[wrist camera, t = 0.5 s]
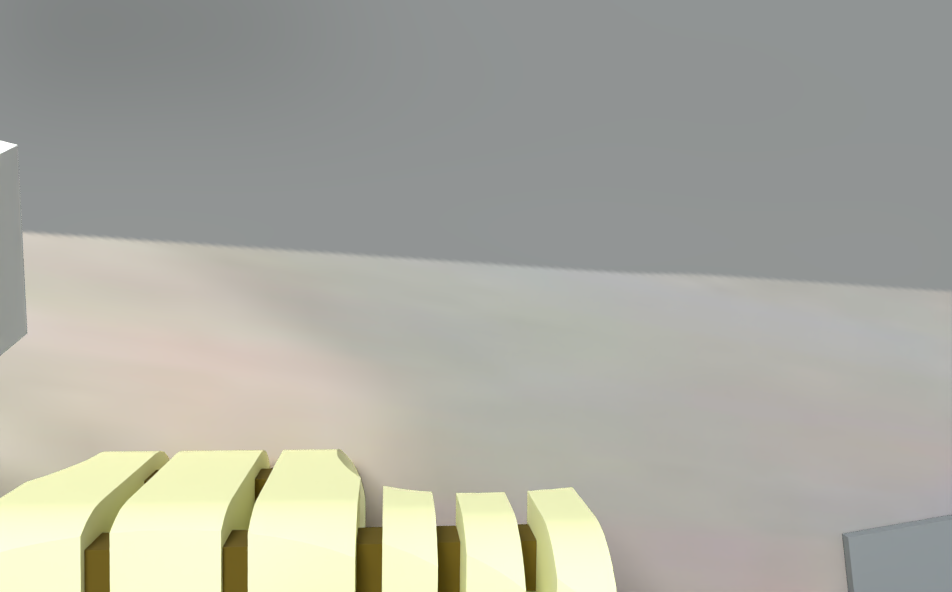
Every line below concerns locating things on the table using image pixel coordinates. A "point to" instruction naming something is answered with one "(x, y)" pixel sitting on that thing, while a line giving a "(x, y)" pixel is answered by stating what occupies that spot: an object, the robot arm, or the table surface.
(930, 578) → the mat
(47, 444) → the table surface
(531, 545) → the slatted curved stool
